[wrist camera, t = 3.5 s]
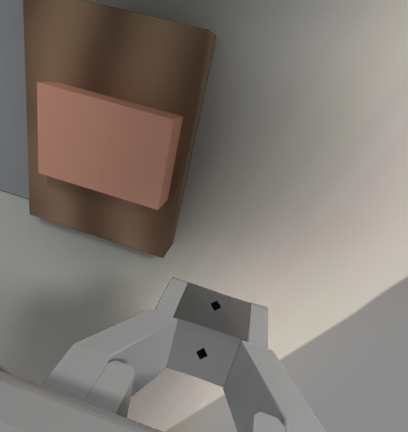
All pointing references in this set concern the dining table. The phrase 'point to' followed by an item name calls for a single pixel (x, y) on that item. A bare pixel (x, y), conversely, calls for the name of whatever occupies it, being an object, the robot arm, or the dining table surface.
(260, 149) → the dining table surface
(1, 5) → the mat
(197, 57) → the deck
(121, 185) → the salmon pink rectangular block
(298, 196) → the dining table surface
